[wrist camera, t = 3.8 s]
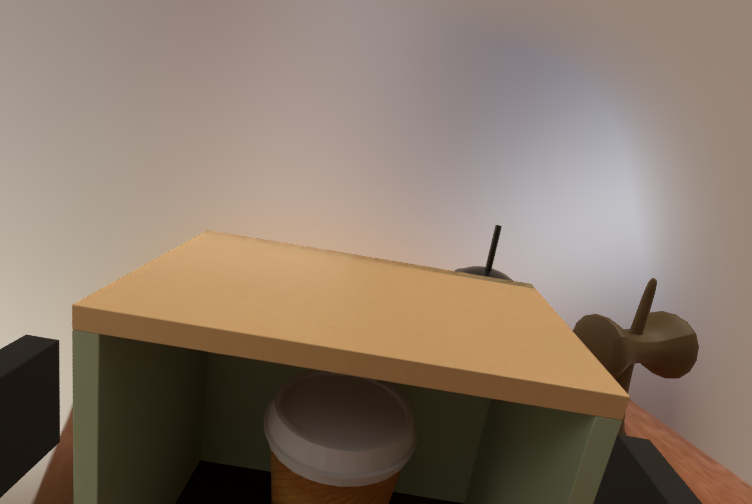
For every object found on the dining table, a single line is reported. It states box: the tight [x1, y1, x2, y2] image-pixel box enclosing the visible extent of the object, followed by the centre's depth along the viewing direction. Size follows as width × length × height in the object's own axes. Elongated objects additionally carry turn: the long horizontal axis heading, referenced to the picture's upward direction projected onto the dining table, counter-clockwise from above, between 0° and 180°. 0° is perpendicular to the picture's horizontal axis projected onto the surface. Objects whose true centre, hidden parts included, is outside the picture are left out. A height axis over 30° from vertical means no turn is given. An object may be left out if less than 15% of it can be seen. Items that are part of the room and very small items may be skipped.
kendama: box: [573, 278, 699, 436], centre depth 42 cm, size 6×10×20 cm, turn 112°
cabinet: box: [72, 230, 630, 504], centre depth 30 cm, size 15×24×19 cm, turn 88°
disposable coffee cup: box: [264, 369, 418, 504], centre depth 30 cm, size 10×10×12 cm
